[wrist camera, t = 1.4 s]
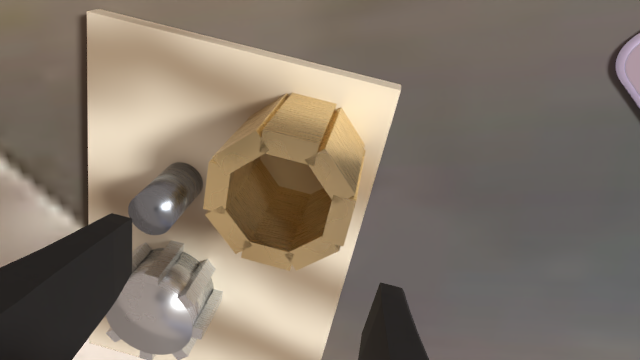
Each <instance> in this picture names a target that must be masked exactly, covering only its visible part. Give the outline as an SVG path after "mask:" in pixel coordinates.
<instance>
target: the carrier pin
mask: <svg viewBox="0 0 640 360" xmlns="http://www.w3.org/2000/svg"><path fill="white" fill-rule="evenodd" d="M202 188H203V181H202V177H201V175H200V173H199V172H198V171H197V170H196V169H195V168H194V167H193V166H191V165H189V164H187V163H183V162H177V163H173V164H171V165H170V166H168V167H167V168H166V169H165V170H164V171H163V172H162V173H161V174H160V175H158V176H157V177H156V178H155V179H154V180H153V181H152V182H151V183H150V184H149V185H147V186H146V187H145V188H144V189H143V190H142V191H141V192H140V193H139V194H137V195H136V196H135V197H134V198H133V199H132V200H131V202H130V203H129V206H128V214H129V217H130V218H132V223H133V224H134V225H135V226H136V227H137V228H138V229H139V230H141V231H142V232H144V233H146V234H149V235H161V234H164V233H166V232H167V231H168V230H169V229H170V228H171V227H172V226H173V224H174V223H175V222H176V221H177V220H178V218H179V217H180V216H181V215H182V214H183V213H184V211H185V210H186V209H187V208H188V207H189V206H190V204H191V203H192V202H193V201H194V200H195V198H196V197H197V196H198V195H199V194H200V192H201V191H202Z"/></svg>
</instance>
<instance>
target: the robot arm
mask: <svg viewBox="0 0 640 360" xmlns="http://www.w3.org/2000/svg"><path fill="white" fill-rule="evenodd" d="M131 274H132V218H129V217H125V216H121V215H118V214H114V213H111V214H109V215H107V216H105V217H103V218H101V219H99V220H97V221H95V222H93V223H91V224H89V225H87V226H85V227H84V228H82V229H80V230H78V231H76V232H74V233H72V234H70V235H68V236H66V237H64V238H62V239H60V240H58V241H56V242H54V243H53V244H51V245H49V246H47V247H45V248H43V249H40V250H38V251H36V252H34V253H32V254H30V255H27V256H25V257H23V258H21V259H19V260H16V261H14V262H12V263H10V264H8V265H6V266H3V267H1V268H0V360H72V359H73V358H74V356H75V355H76V354H77V352H78V351H79V350H80V348H81V347H82V346H83V344H84V343H85V342H86V340H87V339H88V338H89V337H90V335H91V334H92V333H93V331H94V330H95V329H96V327H97V326H98V325H99V323H100V322H101V321H102V319H103V318H104V317H105V315H106V314H107V313H108V311H109V310H110V309H111V307H112V306H113V305H114V303H115V302H116V300H117V298H118V297H119V295H120V293H121V292H122V290H123V288H124V286H125V284H126V283H127V281H128V279H129V277H130V275H131ZM358 360H429V358H428V356H427V353H426V351H425V349H424V346H423V344H422V342H421V339H420V337H419V334H418V332H417V329H416V326H415V324H414V321H413V318H412V315H411V312H410V310H409V306H408V303H407V300H406V297H405V293H404V291H403V289H402V288H399V287H396V286H392V285H388V284H384V283H380V285H379V287H378V290H377V293H376V296H375V299H374V301H373V304H372V307H371V310H370V312H369V315H368V318H367V321H366V324H365V326H364V329H363V332H362V337H361V344H360V351H359V358H358Z"/></svg>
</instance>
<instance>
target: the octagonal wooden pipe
mask: <svg viewBox="0 0 640 360" xmlns="http://www.w3.org/2000/svg"><path fill="white" fill-rule="evenodd" d="M336 105H337V104H336V103H332V102H328V101H324V100H320V99H316V98H312V97H308V96H304V95H300V94H297V93H293V92H292V94H291V95H290V96H288V94H287V93H286V94H285V95H283V96H282V97H280V98H278V99H277V100H275V101H273V102H272V103H270V104H269V105H267V106H265V107H264V108H262V109H261V110H259V111H257V112H256V113H254V114H252V115H251V116H250V117H249V118H248V119H247V120H246V121H245V122H244V123H243V125H242V126H241V127H240V128H239V129H238V130H237V131H236V132H235V133H234V134H233V135H232V136H231V137H230V138H229V139H228V140H227V142H226V143H225V144H224V145H223V146H222V147H221V148H220V149H219V150H218V151H217V152H216V153H215V154H214V155H213V156H212V159H211V160H210V161H209V164H208V172H207V181H206V189H205V197H204V206H203V209H205V210H208V211H207V213H206V214H205V215H206V217H207V218H208V219H209V221H210V222H211V223H212V224H213V226H214V227H215V228H216V230H217V231H218V232H219V233H220V235H221V236H222V237H223V239H224V240H225V241H226V242H227V244H228V245H229V246H230V248H231V249H232V250H233V251H234V253H235V254H237V253H239V252H241V251H242V255H241V258H244V259H247V260H251V261H255V262H258V263H262V264H266V265H269V266H273V267H277V268H280V269H284V270H288V271H290V270H291V267H292V266H293V267H294V268H295V270H296V271H297V270H299V269H301V268H303V267H306V266H308V265H310V264H312V263H314V262H316V261H319V260H321V259H323V258H325V257H327V256H330V255H332V254H334V253H336V252H338V251H340V246H344V243H345V239H346V236H347V232H348V229H349V225H350V222H351V218H352V215H353V211H354V208H355V204H356V200H357V195H358V189H359V184H360V178H361V173H362V168H363V162H364V157H365V151H366V150H364V147H365V144H364V142H363V141H362V139H361V138H360V136H359V134H358V133H357V131H356V130H355V128H354V126H353V125H352V123H351V122H350V120H349V118H348V117H347V115H346V114H345V112H344V110H343V109H342V107H341V108H339V109H338V110H336V111H335V109H336ZM263 154H269V155H273V156H276V157H280V158H284V159H288V160H292V161H296V162H299V163H303V164H307V165H309V167H310V168H311V170H312V171H313V173H314V174H315V176H316V177H317V179H318V180H319V182H320V183H321V185H322V186H323V188H322V189H320V190H318V191H316V192H314V193H312V194H308V193H304V192H300V191H296V190H293V189H289V188H285V187H281V186H279V185H278V184H277V182H276V181H275V180H274V178H273V177H272V175H271V174H270V172H269V171H268V170H267V168H266V167H265V165H264V164H263V163H262V161H261V160H260V158H261V155H263Z"/></svg>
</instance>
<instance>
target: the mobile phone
mask: <svg viewBox="0 0 640 360" xmlns="http://www.w3.org/2000/svg"><path fill="white" fill-rule="evenodd" d="M616 72H617V75H618V78H619V79H620V81H621V83H622V84H623V86H624V87H625V88H626V90H627V91H628V93H629V94H630V96H631V97H632V98H633V100H634V101H635V103H636V104H637V106H638V107H639V108H640V33H639V34H637V35H636V36H634V37H633V38H632V39H631V40H629V41H628V42H627V43H626V44H625V45H624V46H623V48H622V49H621V51H620V52H619V54H618V56H617V60H616Z"/></svg>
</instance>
